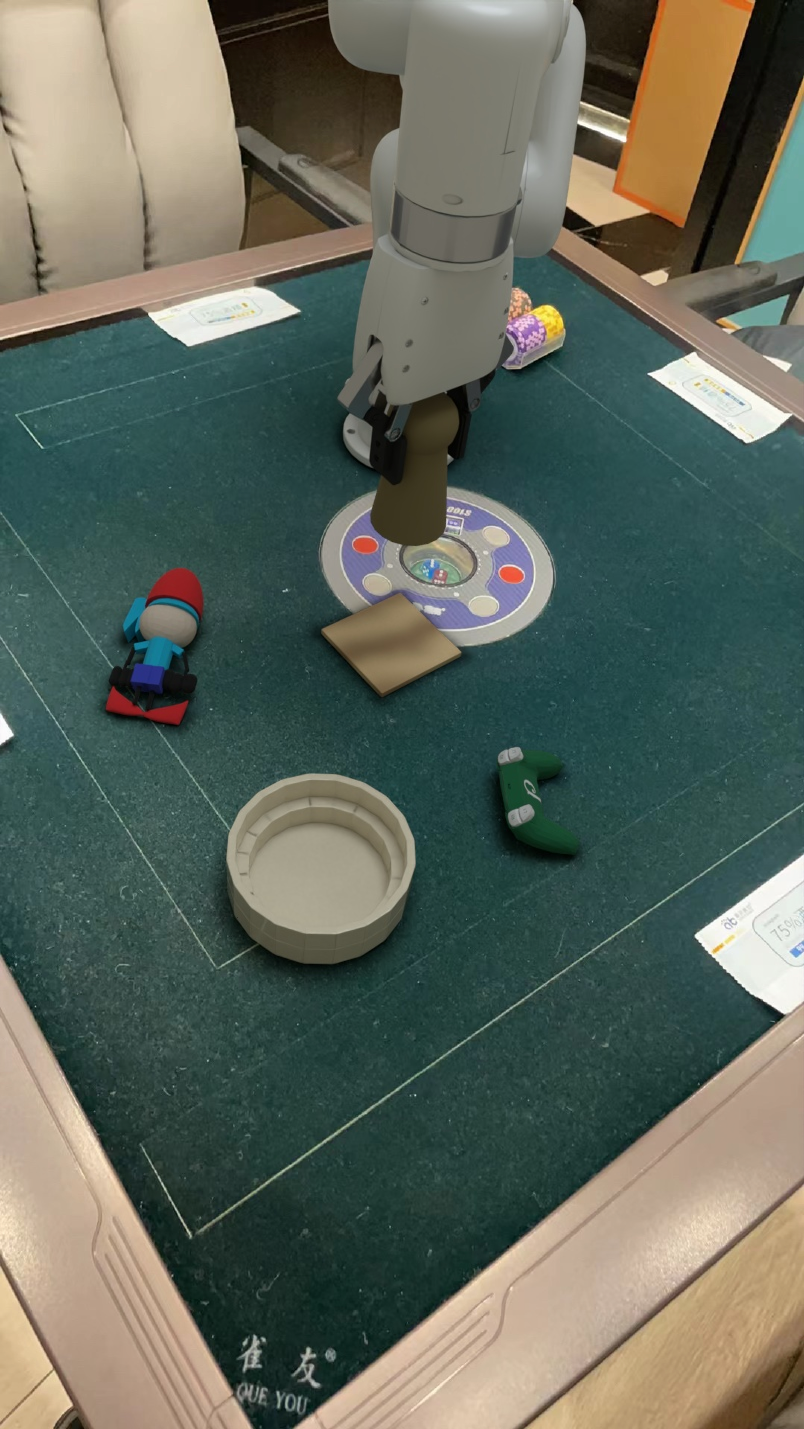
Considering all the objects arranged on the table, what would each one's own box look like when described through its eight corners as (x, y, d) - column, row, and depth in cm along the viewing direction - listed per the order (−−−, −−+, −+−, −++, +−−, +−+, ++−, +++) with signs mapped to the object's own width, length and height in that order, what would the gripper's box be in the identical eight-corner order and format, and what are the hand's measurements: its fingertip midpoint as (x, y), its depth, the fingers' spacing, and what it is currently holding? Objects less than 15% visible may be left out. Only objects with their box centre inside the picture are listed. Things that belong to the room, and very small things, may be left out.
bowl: (194, 865, 78) (191, 827, 74) (338, 784, 84) (342, 746, 80) (295, 1002, 72) (297, 969, 68) (443, 905, 78) (453, 870, 74)
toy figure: (191, 736, 87) (228, 592, 94) (181, 706, 83) (220, 557, 90) (102, 726, 87) (146, 584, 95) (87, 695, 83) (134, 549, 91)
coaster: (320, 633, 94) (321, 629, 94) (399, 596, 98) (400, 592, 98) (381, 698, 90) (382, 693, 89) (460, 656, 94) (461, 652, 94)
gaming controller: (526, 777, 88) (484, 746, 85) (564, 757, 87) (523, 725, 83) (544, 871, 83) (501, 843, 79) (585, 852, 81) (543, 823, 77)
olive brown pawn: (449, 501, 84) (470, 381, 76) (443, 551, 80) (465, 430, 72) (374, 490, 84) (388, 369, 76) (365, 539, 80) (378, 417, 72)
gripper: (513, 167, 70) (470, 403, 84) (301, 220, 62) (292, 470, 76) (592, 217, 66) (533, 453, 80) (377, 279, 58) (353, 529, 72)
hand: (416, 459), depth 78 cm, fingers closed on olive brown pawn, 5 cm apart
